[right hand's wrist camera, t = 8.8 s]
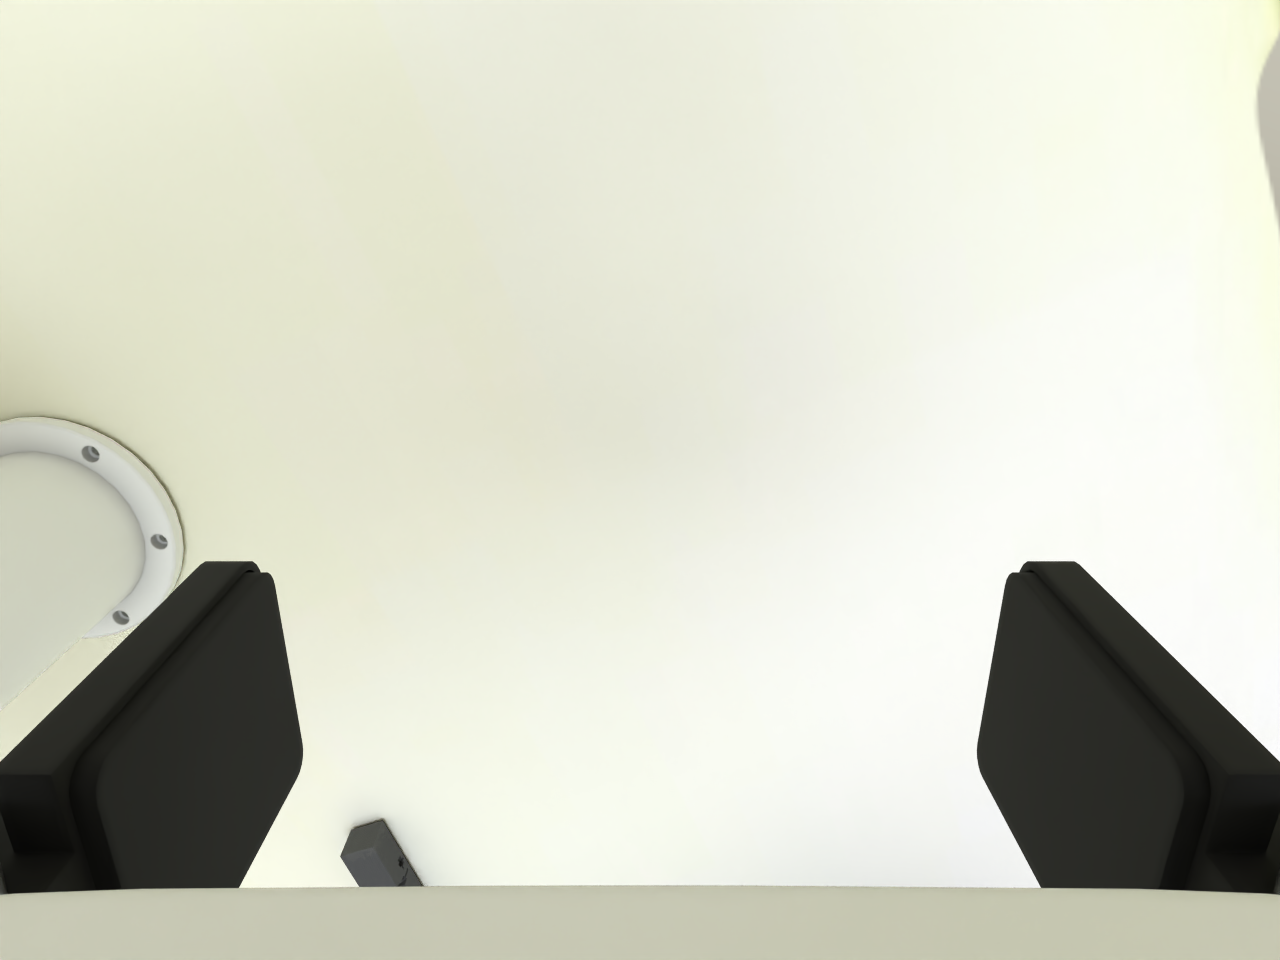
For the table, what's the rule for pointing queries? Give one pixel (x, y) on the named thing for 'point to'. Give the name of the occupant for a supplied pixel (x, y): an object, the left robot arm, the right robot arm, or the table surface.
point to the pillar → (377, 858)
